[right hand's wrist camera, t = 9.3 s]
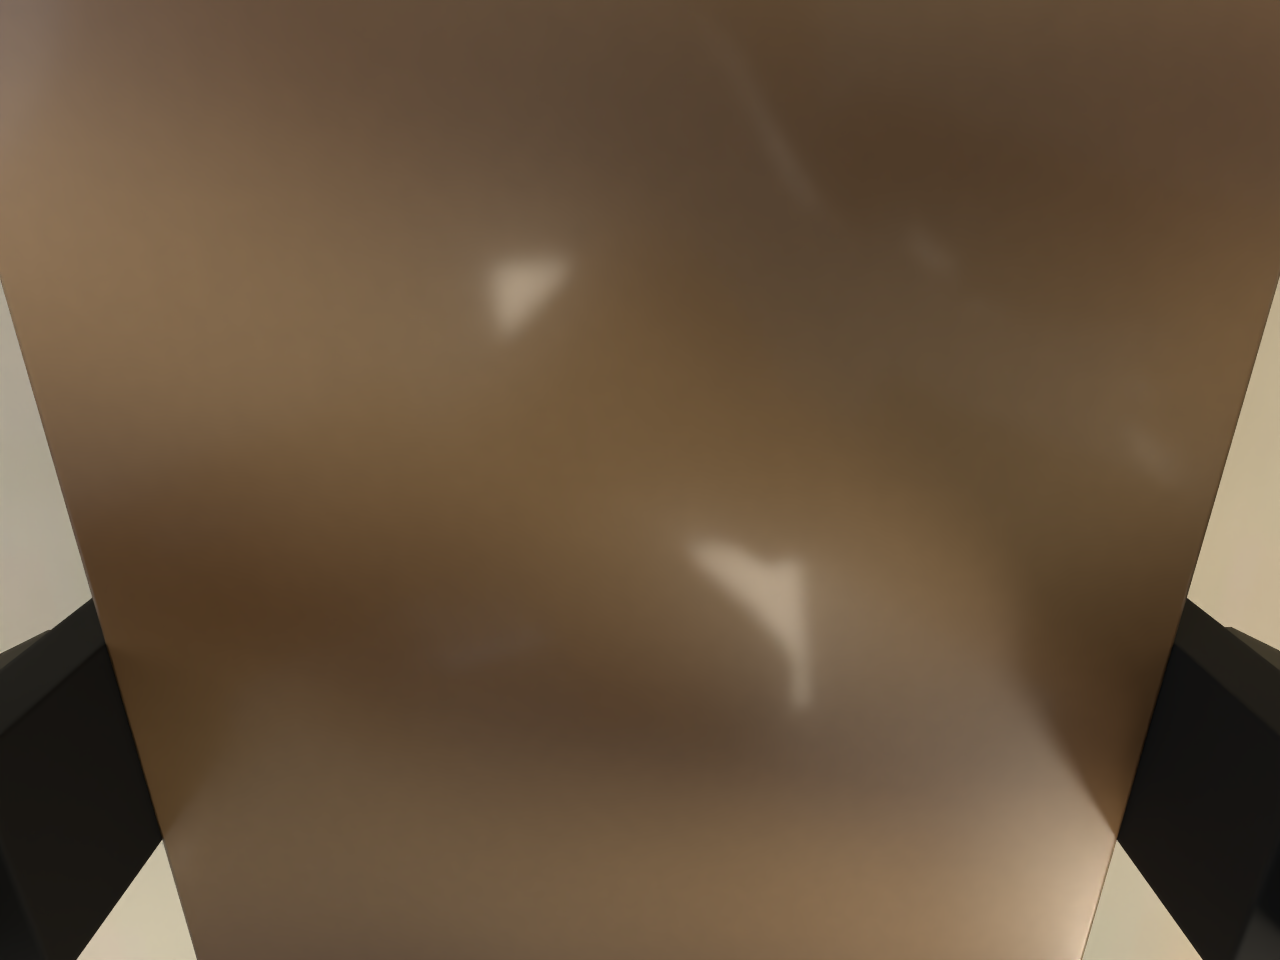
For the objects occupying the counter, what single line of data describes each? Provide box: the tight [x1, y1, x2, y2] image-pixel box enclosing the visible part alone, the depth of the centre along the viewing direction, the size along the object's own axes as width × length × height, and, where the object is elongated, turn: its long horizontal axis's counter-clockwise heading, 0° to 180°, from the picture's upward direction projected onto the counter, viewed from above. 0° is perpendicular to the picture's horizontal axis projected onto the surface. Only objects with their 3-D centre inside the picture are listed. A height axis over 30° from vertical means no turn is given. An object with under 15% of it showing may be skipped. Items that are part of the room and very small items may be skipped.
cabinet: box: [0, 0, 1280, 960], centre depth 10 cm, size 21×11×8 cm, turn 0°
